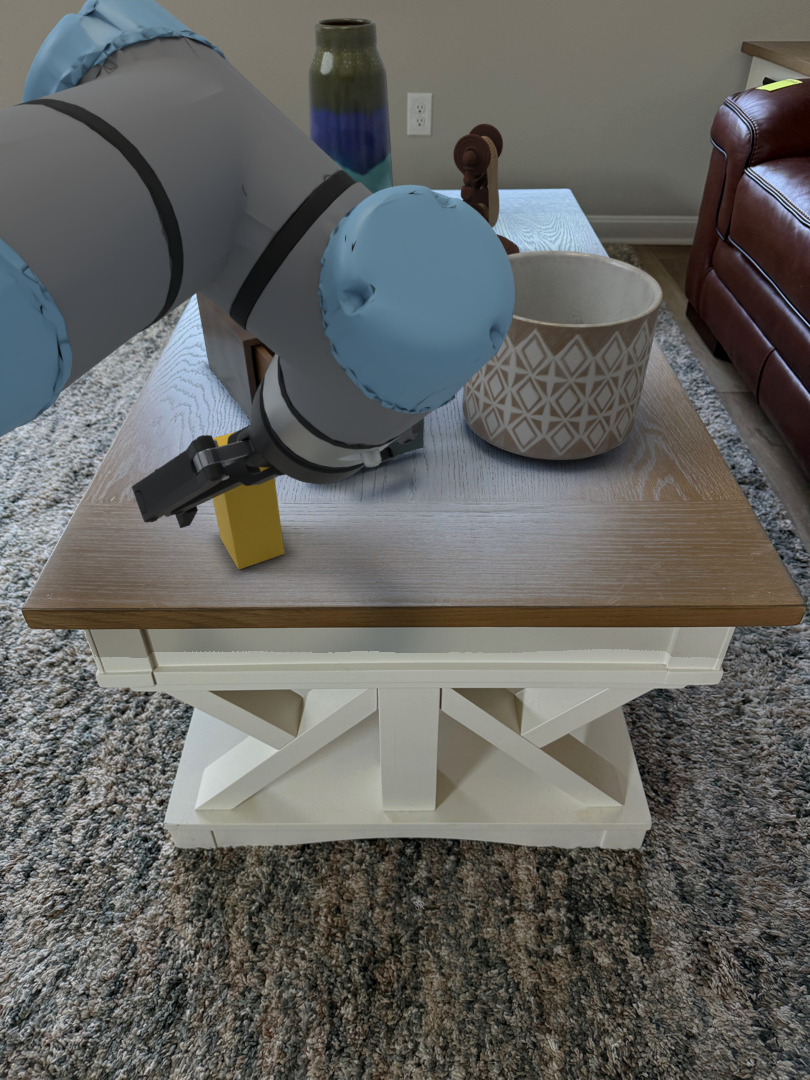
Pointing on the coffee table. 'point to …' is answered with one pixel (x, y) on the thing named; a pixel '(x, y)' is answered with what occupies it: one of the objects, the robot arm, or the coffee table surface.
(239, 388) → the cabinet
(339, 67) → the vase
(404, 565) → the coffee table surface
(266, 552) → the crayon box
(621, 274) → the planter
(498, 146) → the brown rounded piece
